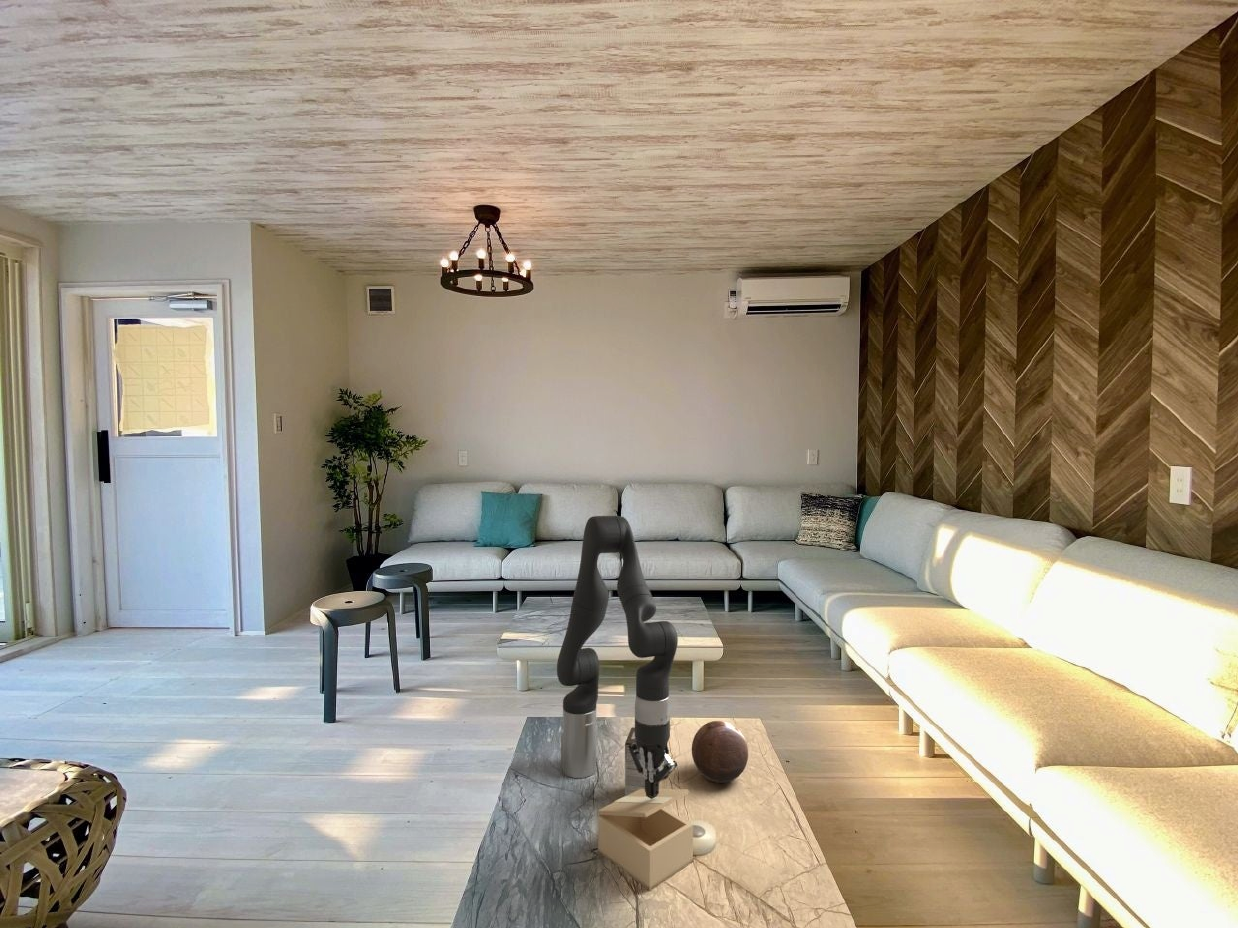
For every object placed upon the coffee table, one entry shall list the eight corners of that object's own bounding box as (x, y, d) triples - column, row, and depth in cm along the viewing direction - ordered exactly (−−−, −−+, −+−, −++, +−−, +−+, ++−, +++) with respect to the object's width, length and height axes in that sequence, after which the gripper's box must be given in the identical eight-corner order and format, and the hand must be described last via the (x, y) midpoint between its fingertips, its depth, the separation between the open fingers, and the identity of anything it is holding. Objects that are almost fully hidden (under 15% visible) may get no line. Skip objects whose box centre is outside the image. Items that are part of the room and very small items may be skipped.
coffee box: (630, 786, 159) (631, 725, 159) (655, 789, 158) (655, 728, 158) (624, 806, 150) (624, 742, 150) (649, 809, 149) (650, 744, 149)
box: (598, 851, 133) (598, 815, 133) (640, 827, 142) (640, 793, 142) (649, 890, 121) (650, 850, 121) (692, 861, 130) (693, 824, 130)
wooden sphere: (758, 788, 159) (759, 731, 159) (707, 798, 154) (707, 739, 154) (730, 760, 173) (730, 708, 173) (682, 769, 168) (682, 715, 168)
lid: (598, 814, 133) (597, 809, 133) (640, 792, 142) (639, 788, 142) (646, 817, 122) (644, 812, 122) (689, 793, 131) (687, 788, 131)
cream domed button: (667, 840, 137) (667, 829, 137) (693, 824, 143) (693, 814, 143) (697, 860, 130) (697, 849, 130) (723, 842, 136) (724, 831, 136)
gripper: (618, 710, 132) (618, 789, 132) (662, 731, 122) (662, 816, 123) (643, 701, 137) (642, 777, 137) (687, 720, 127) (686, 802, 128)
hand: (651, 796), depth 130 cm, fingers closed
